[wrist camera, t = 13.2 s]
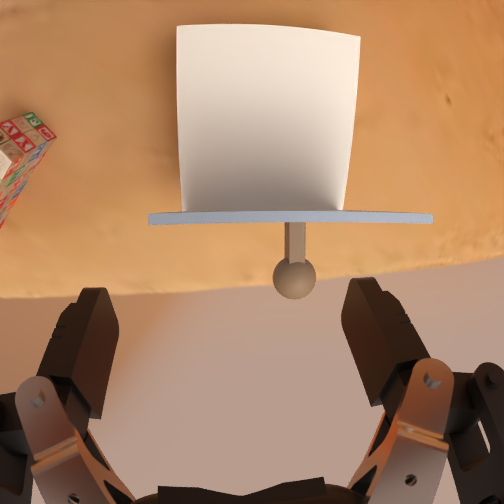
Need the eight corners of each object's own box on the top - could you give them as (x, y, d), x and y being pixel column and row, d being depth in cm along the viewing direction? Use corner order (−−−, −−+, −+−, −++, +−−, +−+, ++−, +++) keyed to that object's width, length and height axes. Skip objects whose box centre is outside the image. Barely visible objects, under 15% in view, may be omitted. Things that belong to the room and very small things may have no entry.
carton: (188, 36, 33) (176, 26, 24) (330, 42, 34) (360, 36, 26) (190, 181, 43) (182, 212, 35) (319, 181, 45) (342, 211, 36)
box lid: (148, 213, 17) (154, 316, 17) (432, 214, 18) (427, 301, 19) (186, 211, 34) (188, 263, 35) (339, 210, 36) (338, 259, 37)
